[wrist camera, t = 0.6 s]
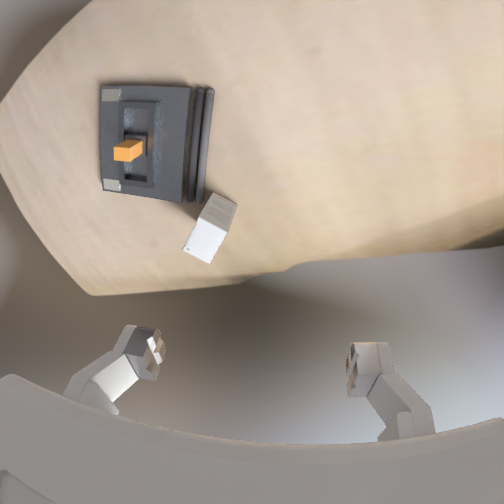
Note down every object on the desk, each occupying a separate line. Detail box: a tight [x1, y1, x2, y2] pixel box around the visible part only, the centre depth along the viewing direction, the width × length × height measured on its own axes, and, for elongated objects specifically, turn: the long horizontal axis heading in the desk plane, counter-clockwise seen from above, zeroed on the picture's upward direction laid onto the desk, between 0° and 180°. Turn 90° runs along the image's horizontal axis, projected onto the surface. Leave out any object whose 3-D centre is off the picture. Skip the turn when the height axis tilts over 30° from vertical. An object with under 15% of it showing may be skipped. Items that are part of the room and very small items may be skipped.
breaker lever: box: [114, 133, 148, 162], centre depth 47 cm, size 4×4×6 cm
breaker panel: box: [100, 85, 193, 203], centre depth 50 cm, size 22×18×4 cm
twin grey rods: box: [187, 87, 215, 204], centre depth 51 cm, size 22×3×1 cm, turn 171°
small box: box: [182, 192, 238, 264], centre depth 55 cm, size 8×6×10 cm
